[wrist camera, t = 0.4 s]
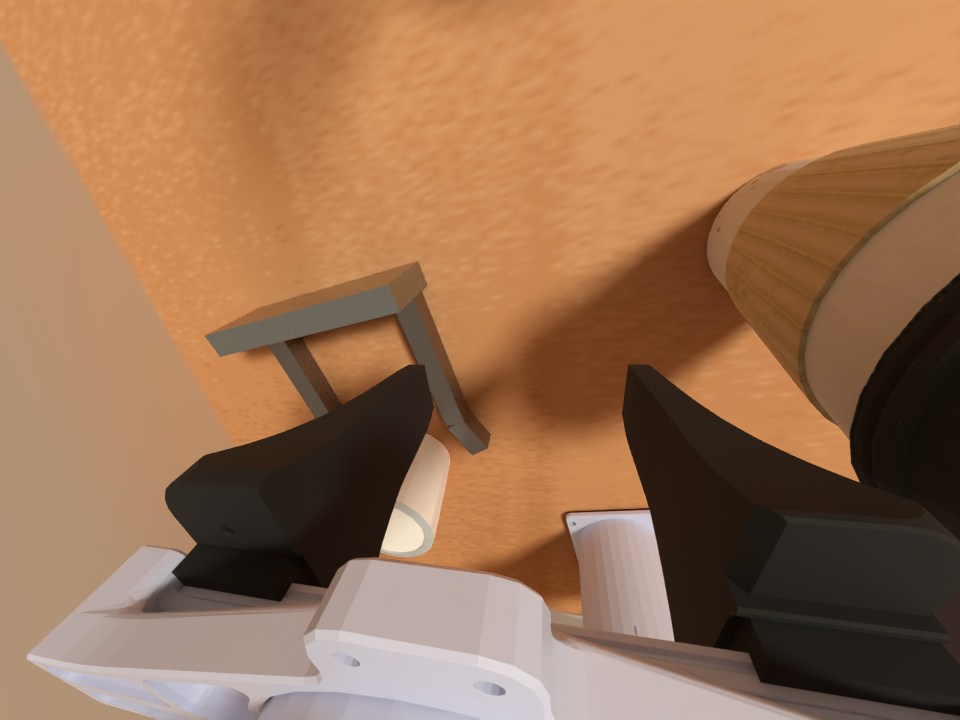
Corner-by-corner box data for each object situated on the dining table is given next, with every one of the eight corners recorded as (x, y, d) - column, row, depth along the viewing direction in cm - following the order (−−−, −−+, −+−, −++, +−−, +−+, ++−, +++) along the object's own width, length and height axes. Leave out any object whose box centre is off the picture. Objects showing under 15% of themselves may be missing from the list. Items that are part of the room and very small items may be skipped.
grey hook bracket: (492, 439, 27) (482, 485, 23) (347, 455, 31) (319, 496, 27) (424, 259, 20) (396, 282, 17) (253, 309, 25) (199, 337, 21)
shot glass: (372, 460, 31) (329, 532, 25) (395, 411, 27) (352, 481, 21) (439, 493, 32) (413, 570, 26) (470, 449, 28) (449, 527, 22)
